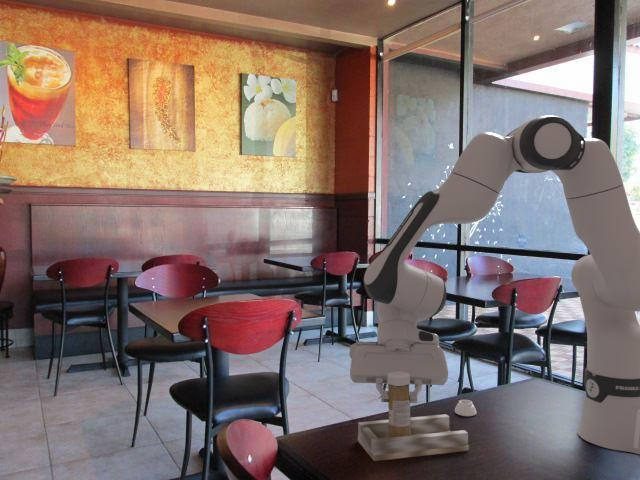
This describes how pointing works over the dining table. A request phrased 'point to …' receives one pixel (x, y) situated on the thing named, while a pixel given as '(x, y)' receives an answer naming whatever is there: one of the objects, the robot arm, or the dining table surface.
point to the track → (411, 438)
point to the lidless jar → (465, 408)
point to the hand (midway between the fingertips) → (399, 401)
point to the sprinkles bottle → (399, 404)
